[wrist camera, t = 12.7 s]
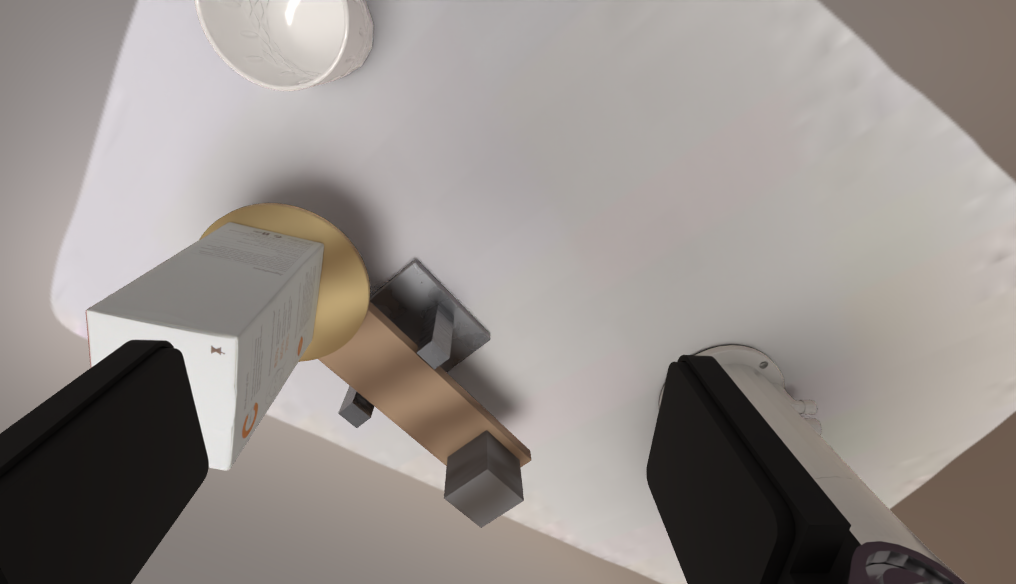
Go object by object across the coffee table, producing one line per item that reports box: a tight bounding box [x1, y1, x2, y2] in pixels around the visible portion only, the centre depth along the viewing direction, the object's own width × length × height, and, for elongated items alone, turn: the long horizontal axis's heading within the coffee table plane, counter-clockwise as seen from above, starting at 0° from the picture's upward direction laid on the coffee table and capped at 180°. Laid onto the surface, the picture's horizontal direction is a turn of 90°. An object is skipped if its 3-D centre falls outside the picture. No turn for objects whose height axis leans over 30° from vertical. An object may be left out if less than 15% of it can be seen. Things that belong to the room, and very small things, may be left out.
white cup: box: [195, 0, 374, 91], centre depth 30 cm, size 8×8×10 cm
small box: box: [86, 222, 324, 471], centre depth 28 cm, size 8×6×13 cm
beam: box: [200, 203, 531, 528], centre depth 37 cm, size 31×12×6 cm, turn 39°
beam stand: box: [338, 259, 490, 428], centre depth 42 cm, size 10×12×8 cm
